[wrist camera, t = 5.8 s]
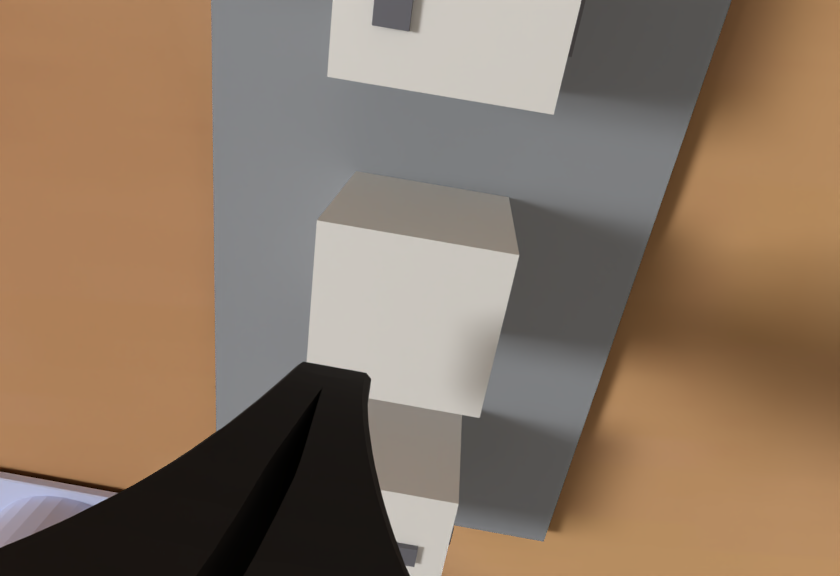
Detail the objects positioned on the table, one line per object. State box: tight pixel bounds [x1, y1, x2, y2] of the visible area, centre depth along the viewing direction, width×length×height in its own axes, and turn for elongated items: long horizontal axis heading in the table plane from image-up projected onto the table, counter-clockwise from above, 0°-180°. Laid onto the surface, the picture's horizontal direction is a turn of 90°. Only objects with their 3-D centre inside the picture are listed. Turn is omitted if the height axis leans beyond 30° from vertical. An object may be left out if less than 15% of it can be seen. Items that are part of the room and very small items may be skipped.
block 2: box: [368, 398, 462, 576], centre depth 19 cm, size 4×5×5 cm
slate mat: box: [211, 0, 731, 541], centre depth 18 cm, size 22×13×1 cm, turn 171°
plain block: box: [307, 171, 519, 418], centre depth 15 cm, size 4×4×4 cm
